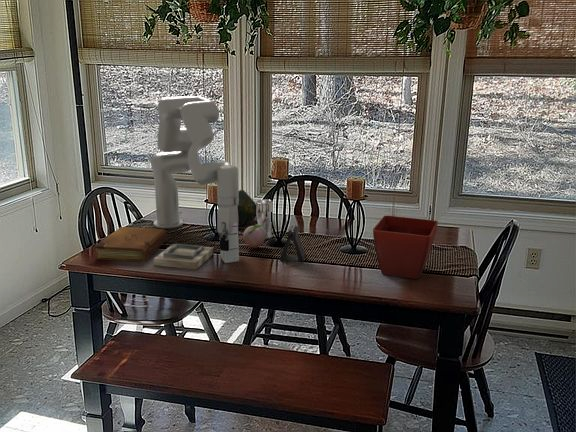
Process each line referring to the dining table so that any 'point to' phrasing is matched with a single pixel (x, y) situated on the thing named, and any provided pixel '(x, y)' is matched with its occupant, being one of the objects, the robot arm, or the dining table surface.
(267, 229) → the beer glass
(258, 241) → the decorative fruit
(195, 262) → the base plate
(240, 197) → the squash
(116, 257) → the diary
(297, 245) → the phone stand
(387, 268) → the plant pot
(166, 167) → the robot arm
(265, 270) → the dining table surface
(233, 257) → the syrup box
